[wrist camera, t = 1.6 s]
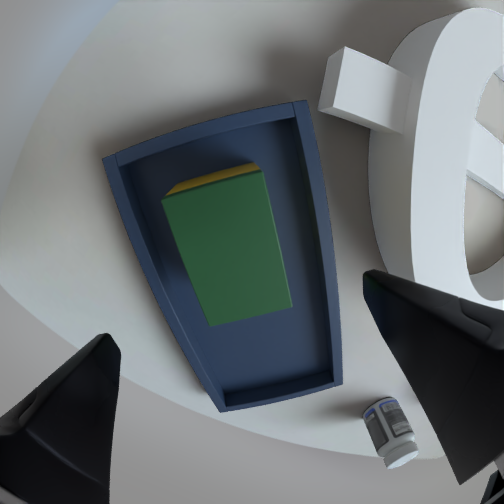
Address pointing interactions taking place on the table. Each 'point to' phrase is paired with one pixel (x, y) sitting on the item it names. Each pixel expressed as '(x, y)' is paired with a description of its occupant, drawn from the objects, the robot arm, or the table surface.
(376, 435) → the pill bottle
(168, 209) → the sponge
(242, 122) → the tray
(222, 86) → the table surface
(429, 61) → the ring with crossbar
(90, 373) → the robot arm
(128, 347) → the table surface
